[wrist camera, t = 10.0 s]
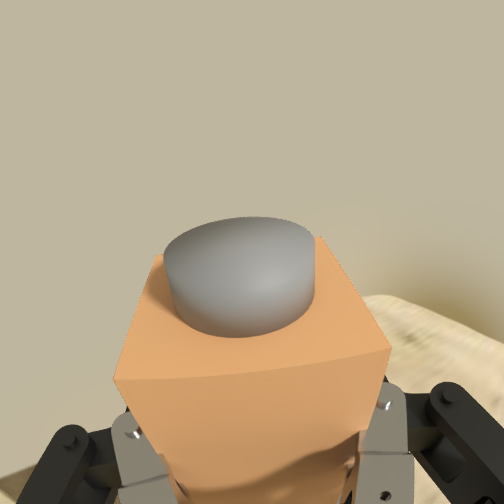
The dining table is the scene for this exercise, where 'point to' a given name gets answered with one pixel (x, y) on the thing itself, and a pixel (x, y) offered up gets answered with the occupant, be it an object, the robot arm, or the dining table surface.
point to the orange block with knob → (253, 363)
